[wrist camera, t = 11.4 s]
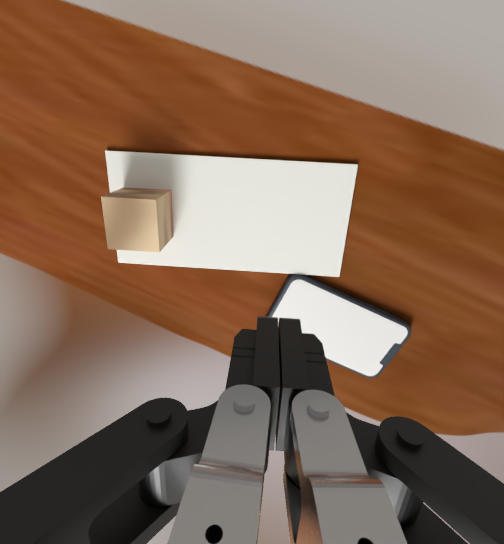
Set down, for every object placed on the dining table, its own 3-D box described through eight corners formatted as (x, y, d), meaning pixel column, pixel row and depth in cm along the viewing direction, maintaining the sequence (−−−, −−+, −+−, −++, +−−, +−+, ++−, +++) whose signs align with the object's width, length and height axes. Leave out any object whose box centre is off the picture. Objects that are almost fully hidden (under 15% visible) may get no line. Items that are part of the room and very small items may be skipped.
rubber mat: (357, 164, 33) (357, 164, 33) (338, 275, 38) (339, 276, 38) (106, 150, 34) (105, 150, 34) (119, 261, 39) (118, 262, 38)
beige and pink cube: (101, 196, 30) (123, 187, 35) (107, 249, 32) (128, 233, 37) (156, 199, 30) (171, 190, 35) (159, 252, 32) (173, 236, 37)
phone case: (259, 325, 42) (371, 374, 44) (258, 332, 41) (374, 382, 42) (292, 266, 39) (412, 321, 40) (292, 271, 37) (417, 328, 39)
